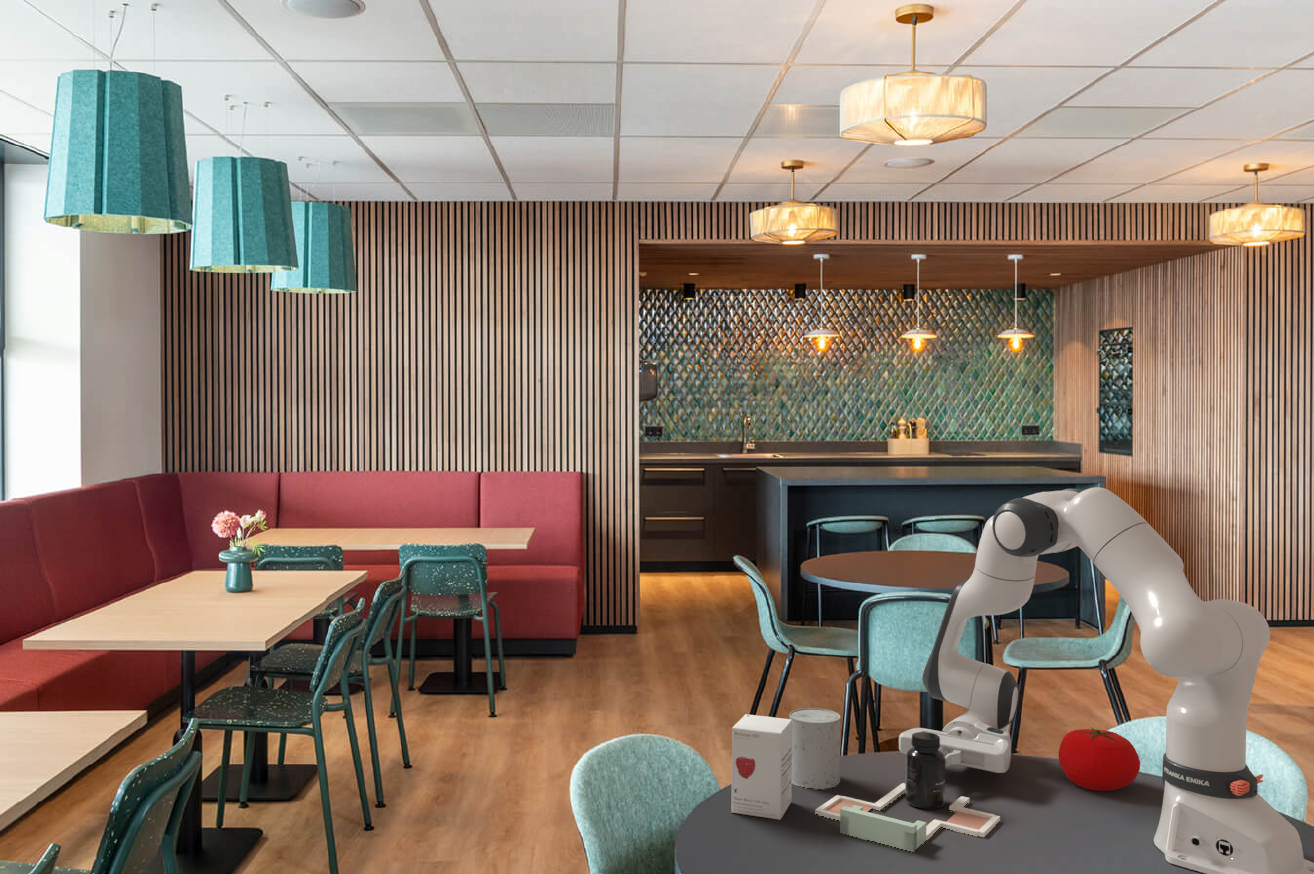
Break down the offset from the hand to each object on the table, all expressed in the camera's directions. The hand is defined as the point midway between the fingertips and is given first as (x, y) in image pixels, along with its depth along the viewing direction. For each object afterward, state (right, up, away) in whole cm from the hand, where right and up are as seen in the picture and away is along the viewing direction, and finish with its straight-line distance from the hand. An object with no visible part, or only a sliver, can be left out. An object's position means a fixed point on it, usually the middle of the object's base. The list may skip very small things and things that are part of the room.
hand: (939, 760), depth 183 cm
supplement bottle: (-4, -6, -5) cm, 9 cm away
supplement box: (-33, -6, -7) cm, 34 cm away
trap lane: (-9, -6, -12) cm, 16 cm away
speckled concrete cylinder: (-22, -6, +6) cm, 23 cm away
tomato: (+30, -6, +4) cm, 31 cm away
